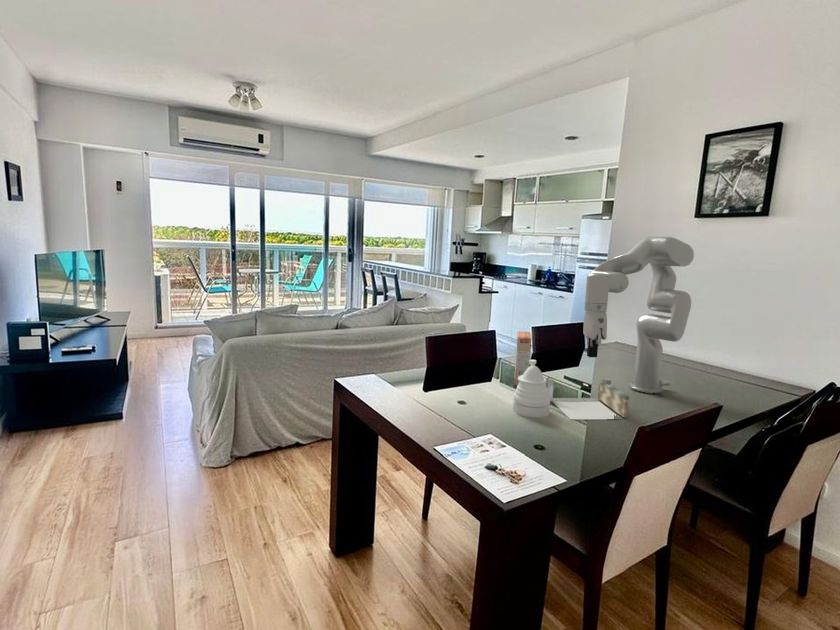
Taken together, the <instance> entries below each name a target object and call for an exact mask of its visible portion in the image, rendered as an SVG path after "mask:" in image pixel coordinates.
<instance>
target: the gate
mask: <svg viewBox="0 0 840 630" xmlns="http://www.w3.org/2000/svg"><path fill="white" fill-rule="evenodd" d="M597 398H598V399H600V400H601V401H602V402H601V403H603V404H604V405H605V406H606V405H607V407H609V409H612V410H613V412H615V413H617V415H619V416H622V417H623V418H627V417H628V409H629V401H630V396H629V395H627V394H626V393H624V392H623V391H621V390H620V389H618V388H616V387H615V386H613V385H612V384H611V385H610V384H609V383H607V382H606V381H604V379H599V383H598V394H597Z"/></svg>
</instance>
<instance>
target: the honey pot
mask: <svg viewBox="0 0 840 630" xmlns="http://www.w3.org/2000/svg"><path fill="white" fill-rule="evenodd" d="M529 363H530V365H529V368H528V369H527V370H526V371H525V372H524V374H523V375H521V376H519V377H518V380H519V381H520V382H519V384H518V385H516V388H515V392H514V393H513V398H512V399H513V400H512V401H513V402H512V411H513V412H514V413H516V414H518V415H520V416H523V417H529V418H543V417H547V416H549V415H550V408H551V402H550V396H549V393H548V388H547V387H546V385H547V378H545V376H544V375H543V373H542V371H541V369H540V368H539V367H538V366H536V364H537V360H536V359H530V360H529Z"/></svg>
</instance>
